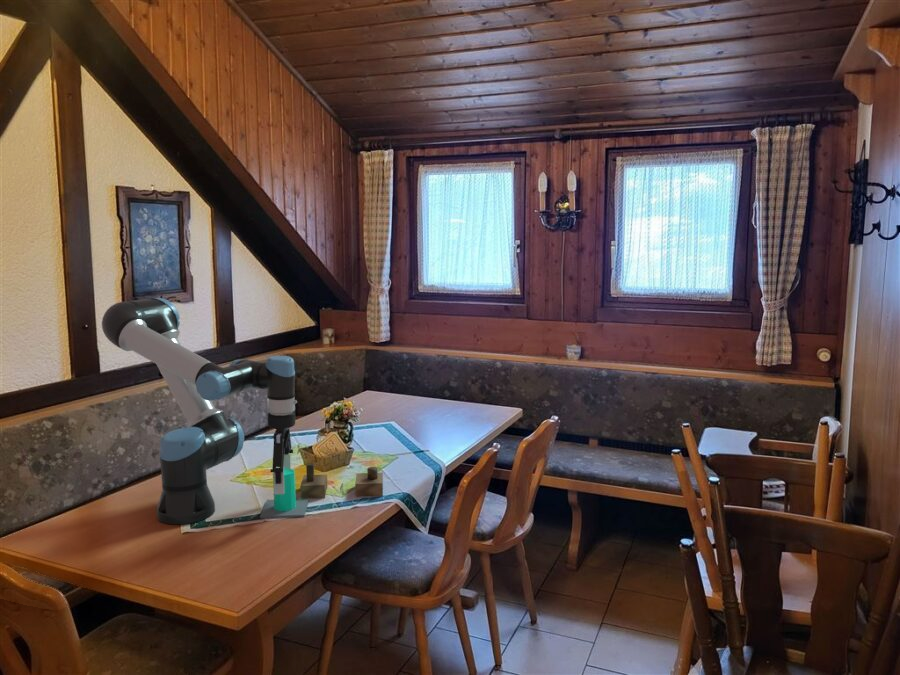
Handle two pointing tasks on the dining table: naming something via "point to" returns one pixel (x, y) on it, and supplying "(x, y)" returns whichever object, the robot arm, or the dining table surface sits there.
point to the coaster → (296, 512)
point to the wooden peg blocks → (363, 486)
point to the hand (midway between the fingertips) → (282, 484)
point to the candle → (286, 492)
